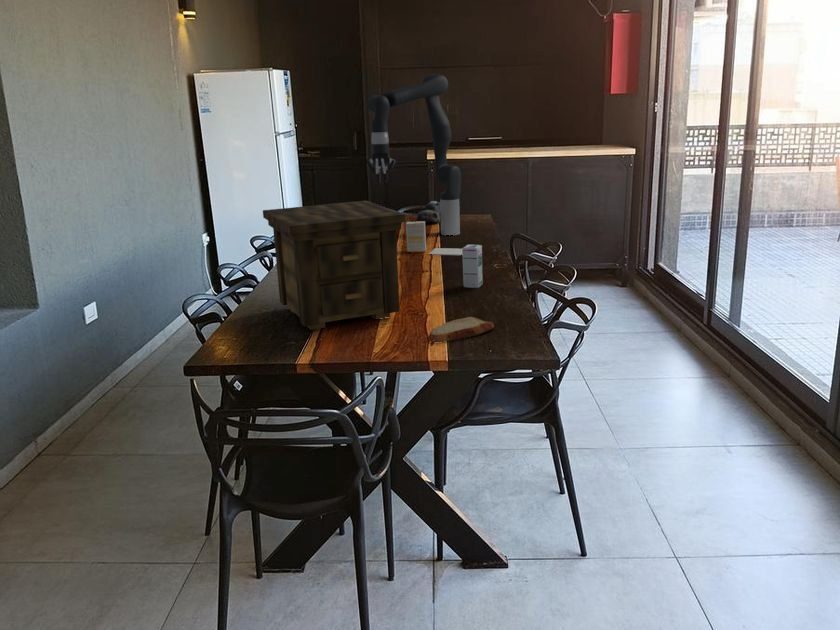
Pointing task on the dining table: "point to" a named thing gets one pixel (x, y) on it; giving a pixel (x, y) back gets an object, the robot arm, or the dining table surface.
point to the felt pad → (446, 251)
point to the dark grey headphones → (430, 213)
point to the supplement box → (416, 236)
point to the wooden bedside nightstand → (337, 260)
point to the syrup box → (472, 266)
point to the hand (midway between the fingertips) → (382, 182)
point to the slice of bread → (460, 329)
